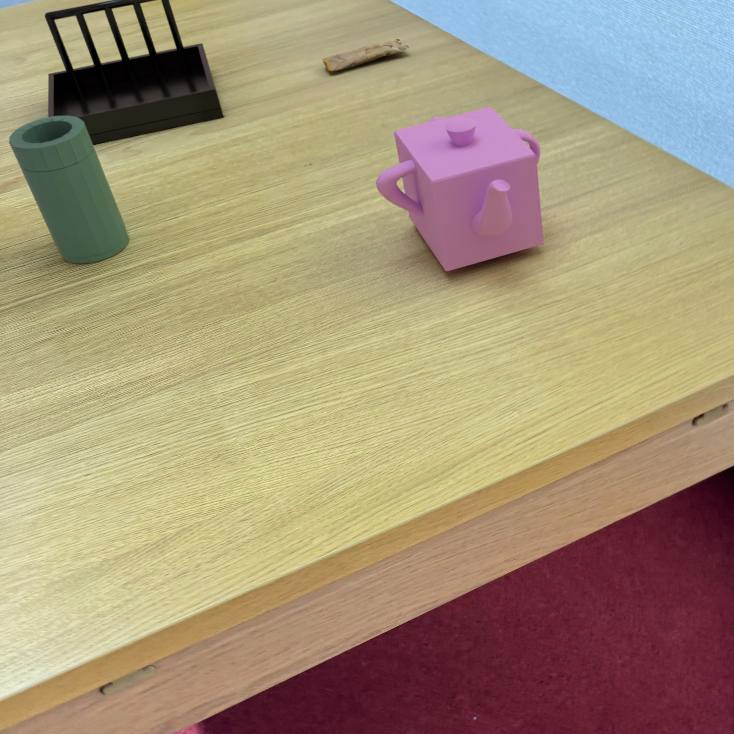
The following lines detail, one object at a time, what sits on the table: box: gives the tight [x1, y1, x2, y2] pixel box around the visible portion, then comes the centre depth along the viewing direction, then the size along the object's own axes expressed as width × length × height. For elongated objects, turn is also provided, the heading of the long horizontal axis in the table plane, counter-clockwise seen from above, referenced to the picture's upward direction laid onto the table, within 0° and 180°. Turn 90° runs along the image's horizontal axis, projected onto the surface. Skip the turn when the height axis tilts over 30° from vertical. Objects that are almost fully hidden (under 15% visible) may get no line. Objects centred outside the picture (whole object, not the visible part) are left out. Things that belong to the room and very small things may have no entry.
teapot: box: [375, 106, 545, 272], centre depth 85 cm, size 18×14×10 cm
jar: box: [8, 116, 130, 265], centre depth 90 cm, size 6×6×10 cm
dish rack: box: [44, 0, 225, 145], centre depth 111 cm, size 17×14×9 cm
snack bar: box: [321, 38, 410, 72], centre depth 118 cm, size 10×2×3 cm
